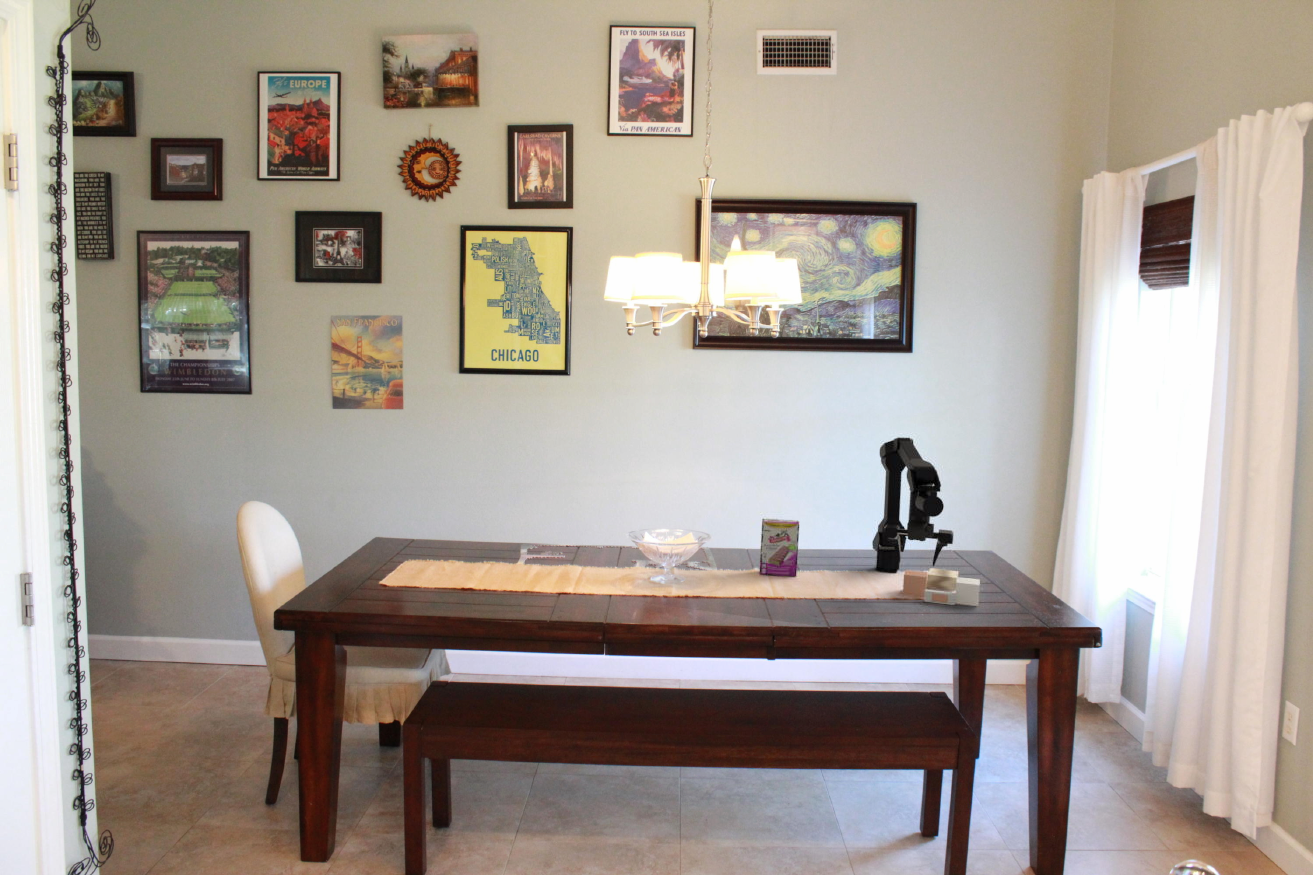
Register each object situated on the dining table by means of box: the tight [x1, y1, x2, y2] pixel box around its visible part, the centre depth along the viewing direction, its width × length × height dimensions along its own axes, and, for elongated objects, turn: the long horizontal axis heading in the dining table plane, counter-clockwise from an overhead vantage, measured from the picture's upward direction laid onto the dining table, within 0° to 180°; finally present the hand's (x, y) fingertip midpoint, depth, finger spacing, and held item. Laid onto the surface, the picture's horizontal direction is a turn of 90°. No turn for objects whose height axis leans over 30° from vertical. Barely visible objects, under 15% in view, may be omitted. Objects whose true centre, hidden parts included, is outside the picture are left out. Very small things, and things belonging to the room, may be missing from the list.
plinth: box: [923, 588, 956, 606], centre depth 247 cm, size 8×2×3 cm, turn 70°
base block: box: [927, 567, 959, 591], centre depth 265 cm, size 8×8×4 cm
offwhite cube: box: [955, 576, 981, 607], centre depth 249 cm, size 6×6×6 cm
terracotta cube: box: [902, 569, 928, 599], centre depth 255 cm, size 6×6×6 cm
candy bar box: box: [759, 518, 800, 577], centre depth 272 cm, size 11×5×16 cm, turn 84°
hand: (916, 563), depth 255 cm, fingers open, 9 cm apart
